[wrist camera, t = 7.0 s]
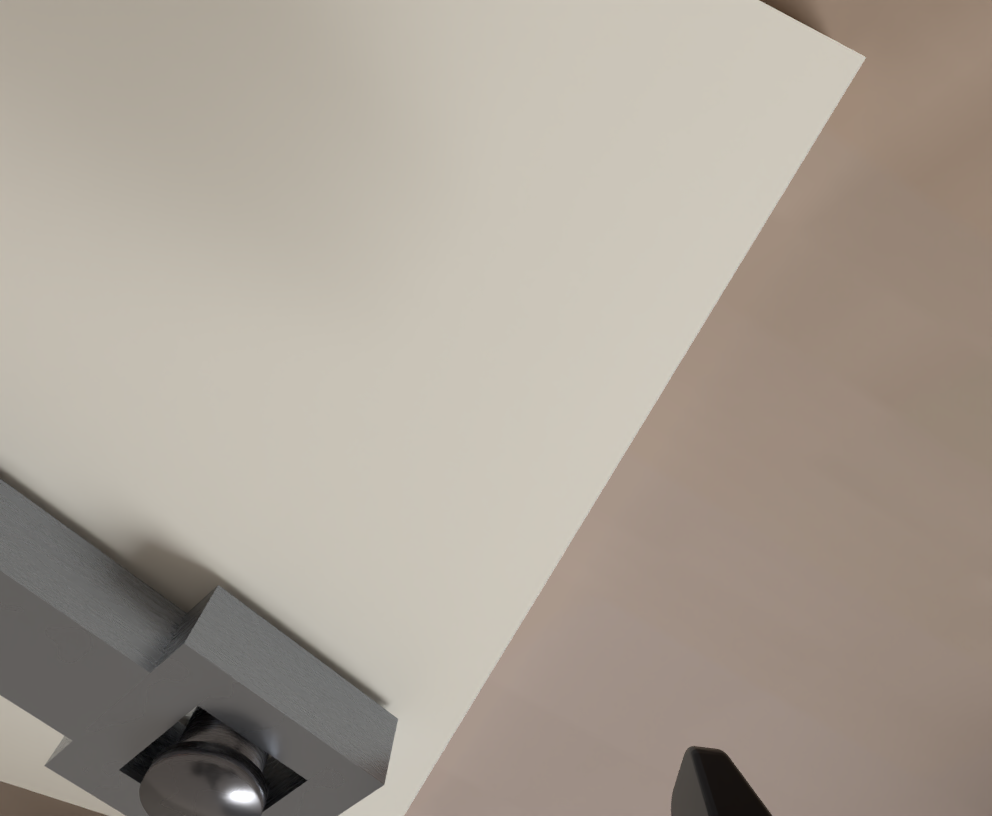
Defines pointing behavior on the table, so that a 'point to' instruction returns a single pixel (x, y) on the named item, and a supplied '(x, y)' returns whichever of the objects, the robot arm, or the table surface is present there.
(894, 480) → the table surface
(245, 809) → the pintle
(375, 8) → the board
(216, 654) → the link
